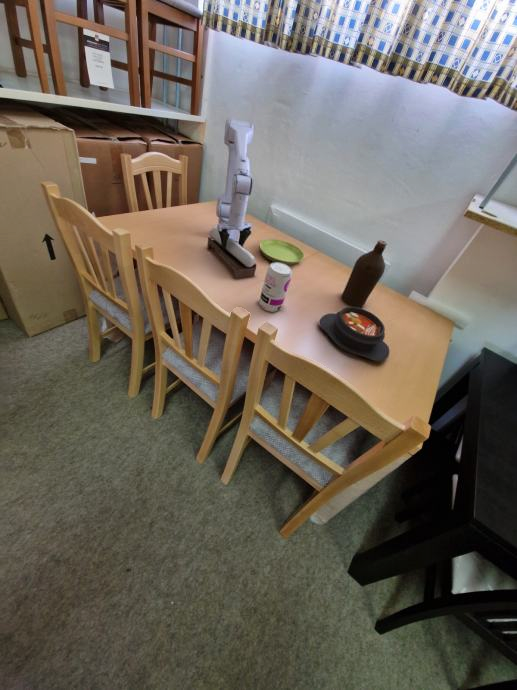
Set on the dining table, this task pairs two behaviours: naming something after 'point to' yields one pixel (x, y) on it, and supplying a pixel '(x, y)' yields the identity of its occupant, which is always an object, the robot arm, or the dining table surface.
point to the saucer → (281, 251)
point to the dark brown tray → (232, 261)
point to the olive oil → (364, 276)
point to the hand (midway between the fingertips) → (232, 247)
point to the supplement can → (275, 286)
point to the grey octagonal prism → (234, 249)
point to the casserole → (357, 332)
